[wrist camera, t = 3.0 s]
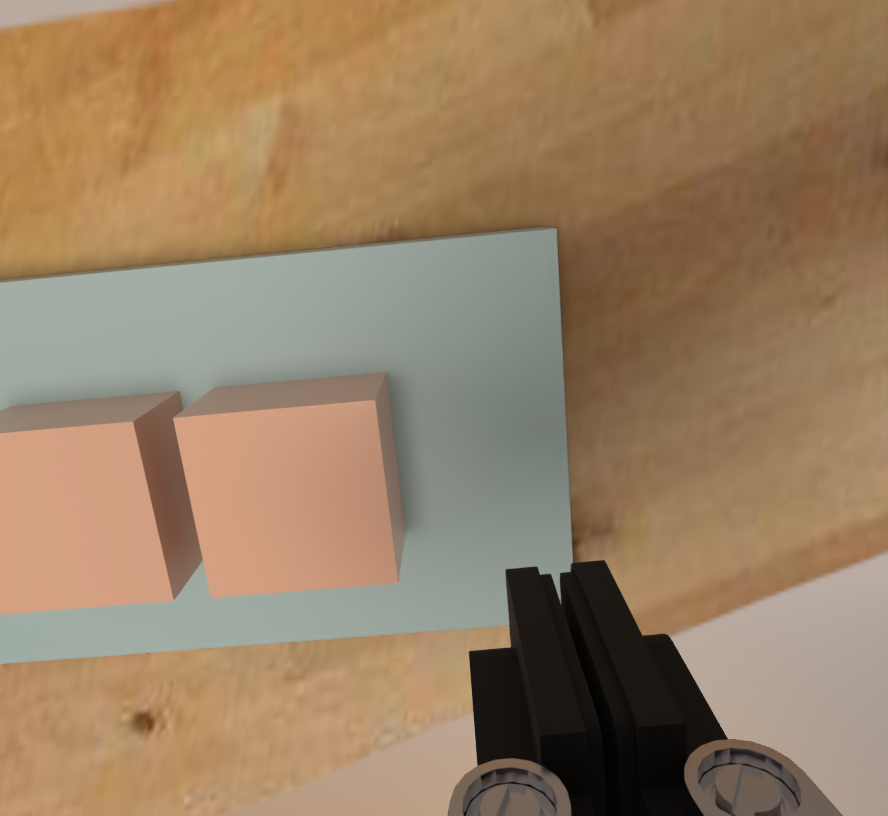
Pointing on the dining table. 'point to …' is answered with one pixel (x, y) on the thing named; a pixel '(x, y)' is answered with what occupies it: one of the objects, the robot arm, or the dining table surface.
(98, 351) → the pale green lid panel
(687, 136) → the dining table surface
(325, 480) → the tile
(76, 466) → the tile
